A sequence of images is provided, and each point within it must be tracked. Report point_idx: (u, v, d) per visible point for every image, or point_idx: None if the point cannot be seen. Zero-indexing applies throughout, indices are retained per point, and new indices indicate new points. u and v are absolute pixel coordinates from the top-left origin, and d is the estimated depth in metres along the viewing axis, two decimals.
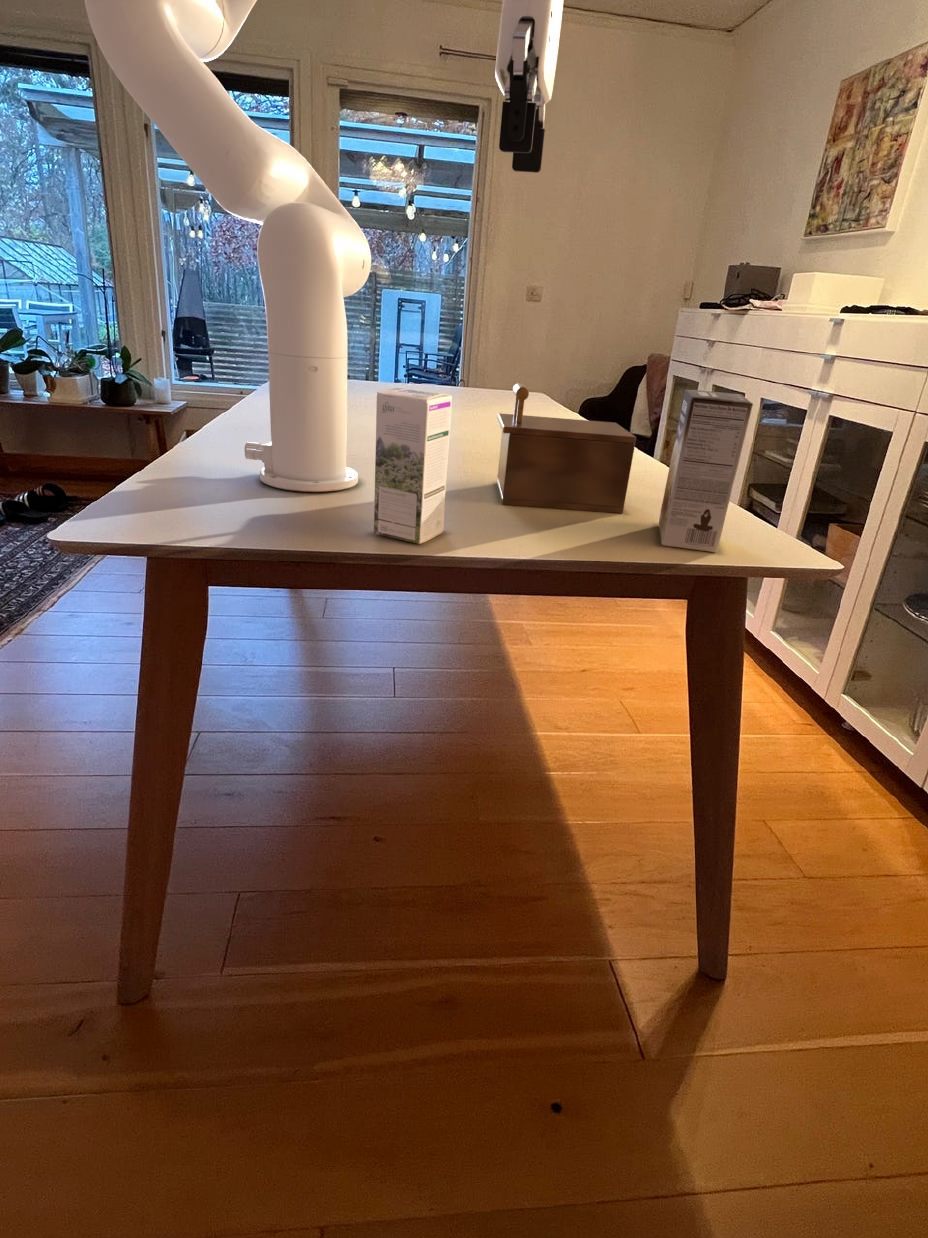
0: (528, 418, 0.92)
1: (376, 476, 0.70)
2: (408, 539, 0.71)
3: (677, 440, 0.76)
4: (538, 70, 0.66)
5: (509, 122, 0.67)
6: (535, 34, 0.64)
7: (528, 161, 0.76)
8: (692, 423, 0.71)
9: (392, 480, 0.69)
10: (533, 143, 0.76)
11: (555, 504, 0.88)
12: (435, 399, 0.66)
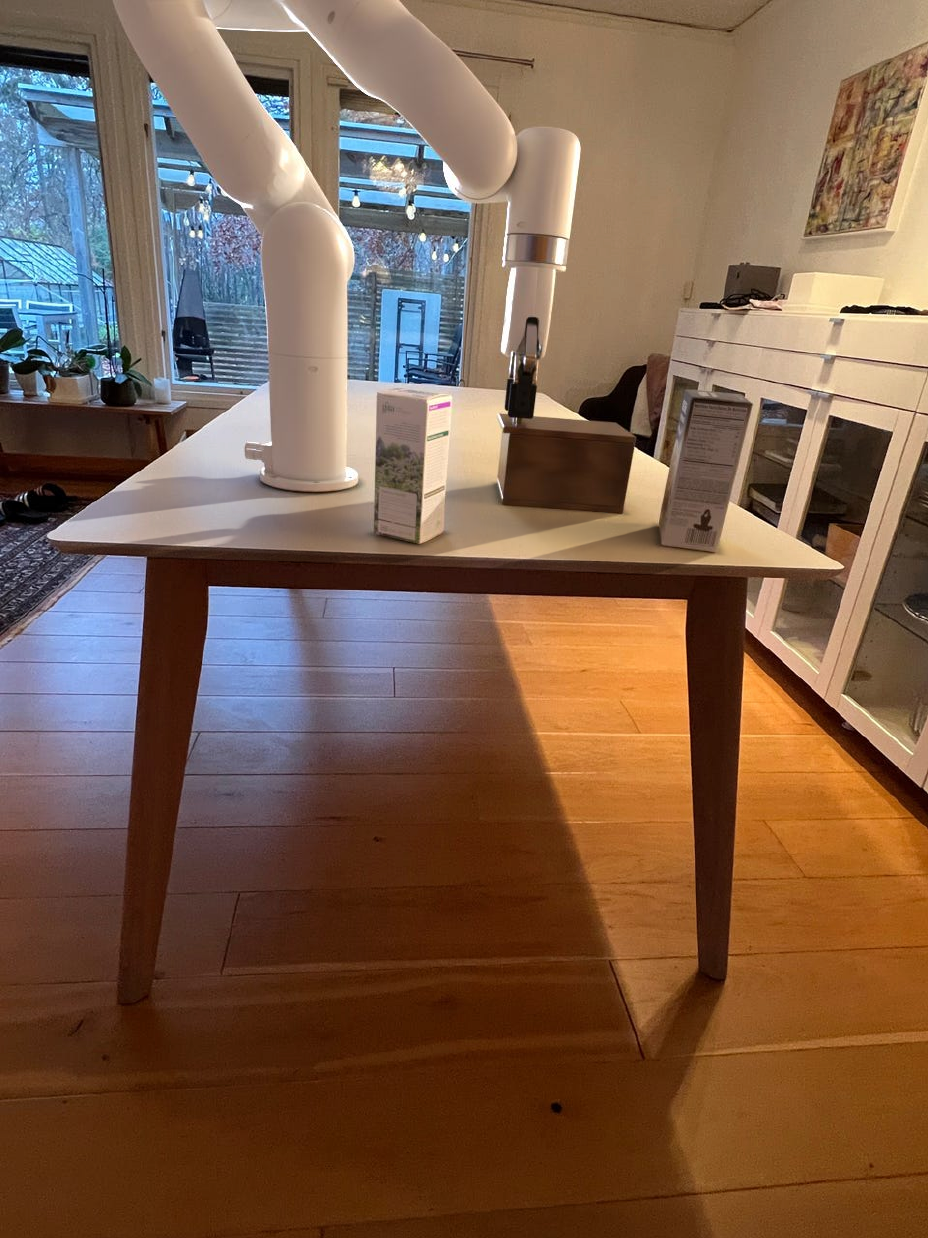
0: None
1: (376, 476, 0.70)
2: (408, 539, 0.71)
3: (677, 440, 0.76)
4: None
5: (517, 400, 0.85)
6: (539, 330, 0.80)
7: None
8: (692, 423, 0.71)
9: (392, 480, 0.69)
10: None
11: (555, 504, 0.88)
12: (435, 399, 0.66)
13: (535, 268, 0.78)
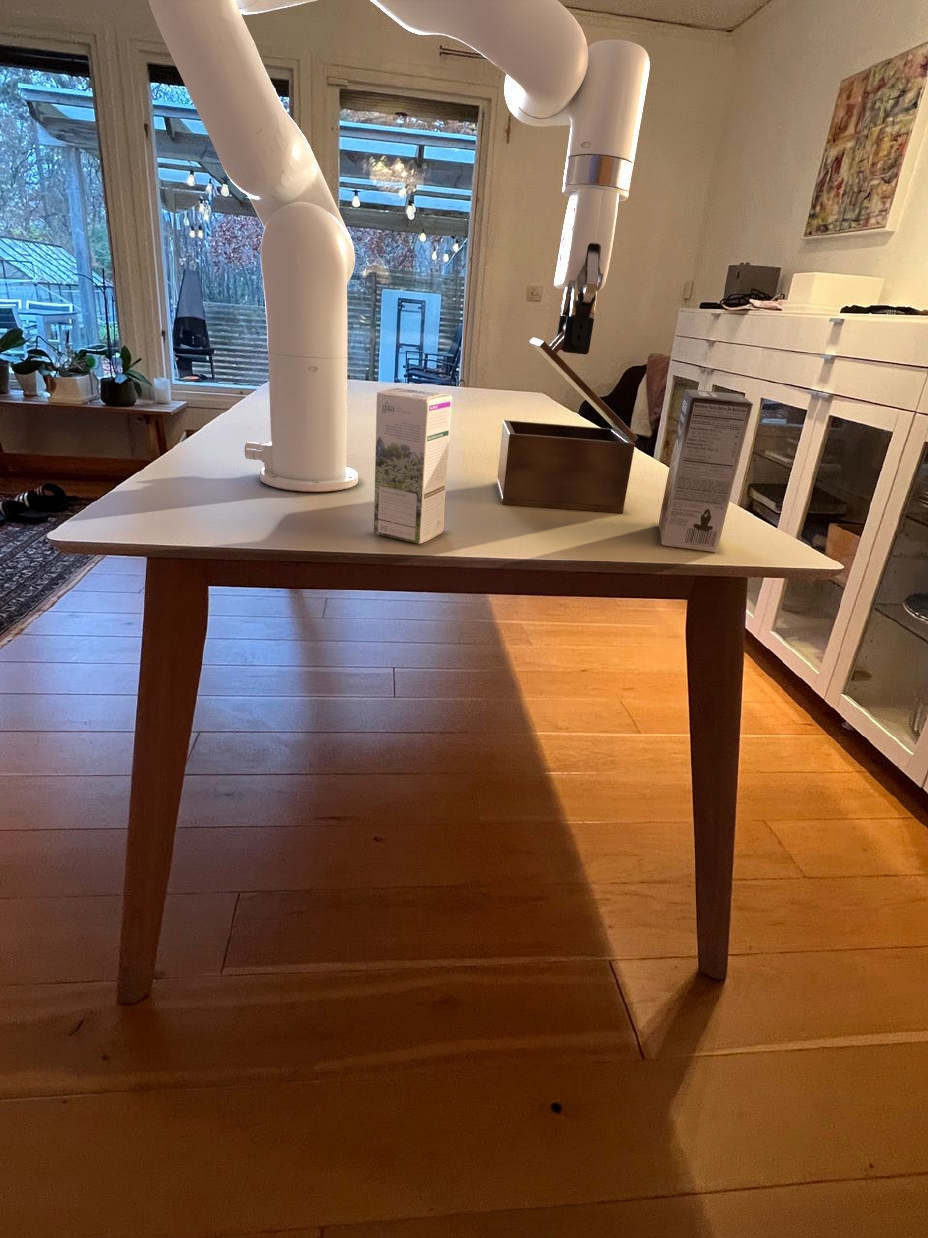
0: None
1: (376, 476, 0.70)
2: (408, 539, 0.71)
3: (677, 440, 0.76)
4: None
5: (573, 333, 0.82)
6: (601, 257, 0.77)
7: None
8: (692, 423, 0.71)
9: (392, 480, 0.69)
10: None
11: (555, 504, 0.88)
12: (435, 399, 0.66)
13: (599, 191, 0.75)
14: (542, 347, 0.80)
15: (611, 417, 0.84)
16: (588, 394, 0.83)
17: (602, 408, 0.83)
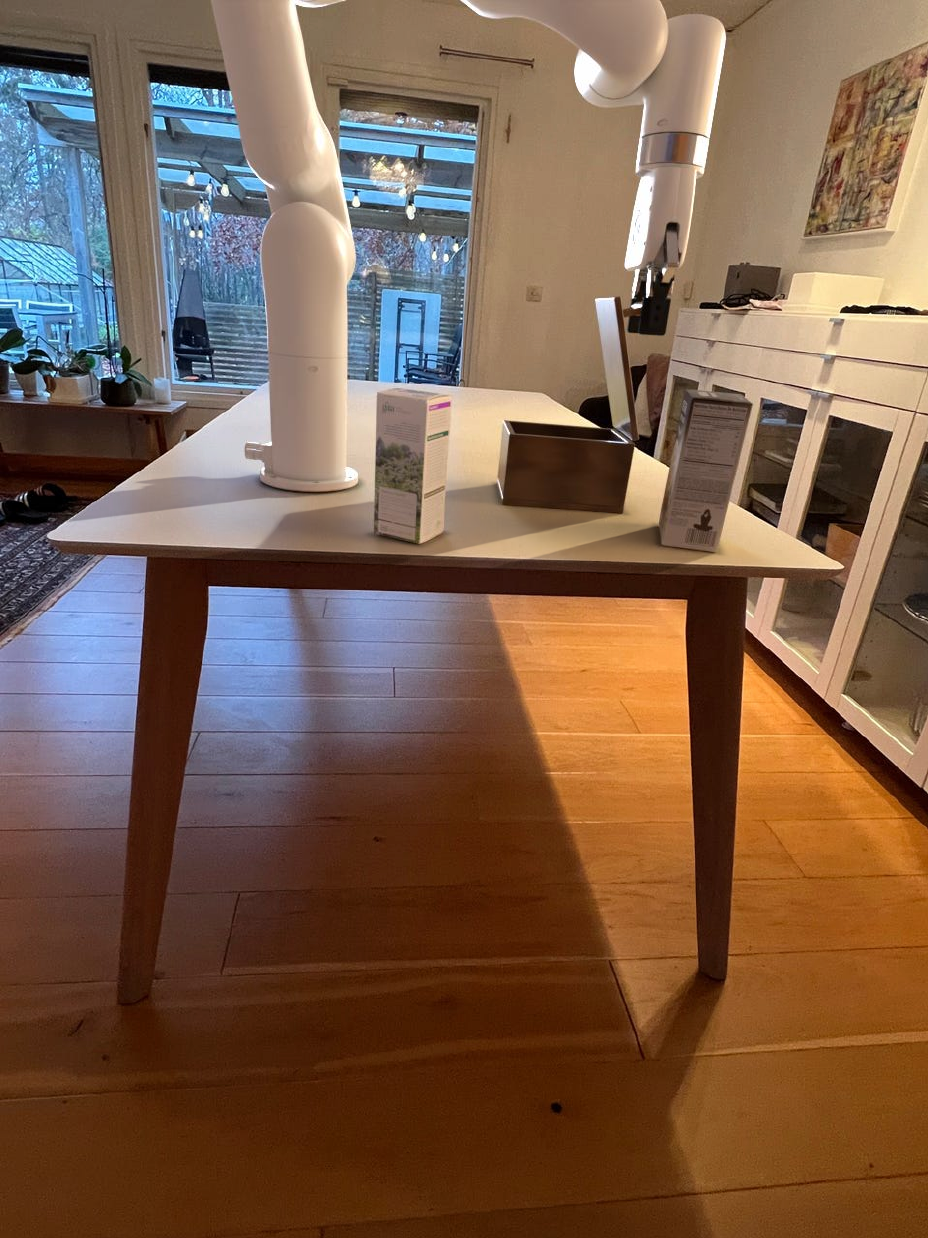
0: None
1: (376, 476, 0.70)
2: (408, 539, 0.71)
3: (677, 440, 0.76)
4: None
5: (651, 314, 0.81)
6: (679, 236, 0.77)
7: None
8: (692, 423, 0.71)
9: (392, 480, 0.69)
10: None
11: (555, 504, 0.88)
12: (435, 399, 0.66)
13: (677, 168, 0.75)
14: (615, 300, 0.79)
15: (629, 405, 0.83)
16: (625, 371, 0.82)
17: (628, 392, 0.83)
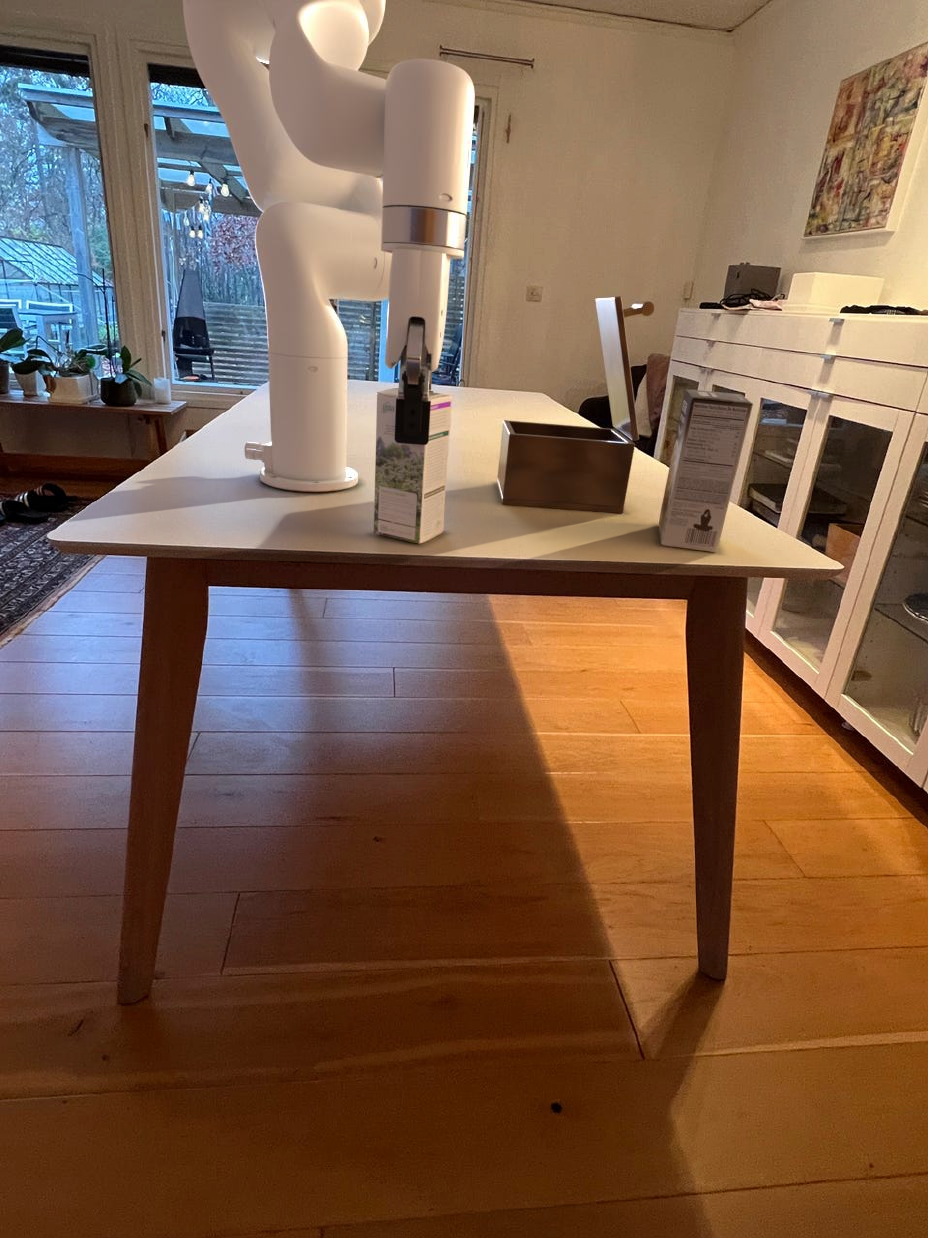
0: None
1: (376, 476, 0.70)
2: (408, 539, 0.71)
3: (677, 440, 0.76)
4: (431, 370, 0.63)
5: (405, 420, 0.64)
6: (426, 333, 0.61)
7: None
8: (692, 423, 0.71)
9: (392, 480, 0.69)
10: None
11: (555, 504, 0.88)
12: (435, 399, 0.66)
13: (417, 252, 0.59)
14: (616, 300, 0.79)
15: (630, 405, 0.83)
16: (625, 371, 0.82)
17: (628, 392, 0.83)
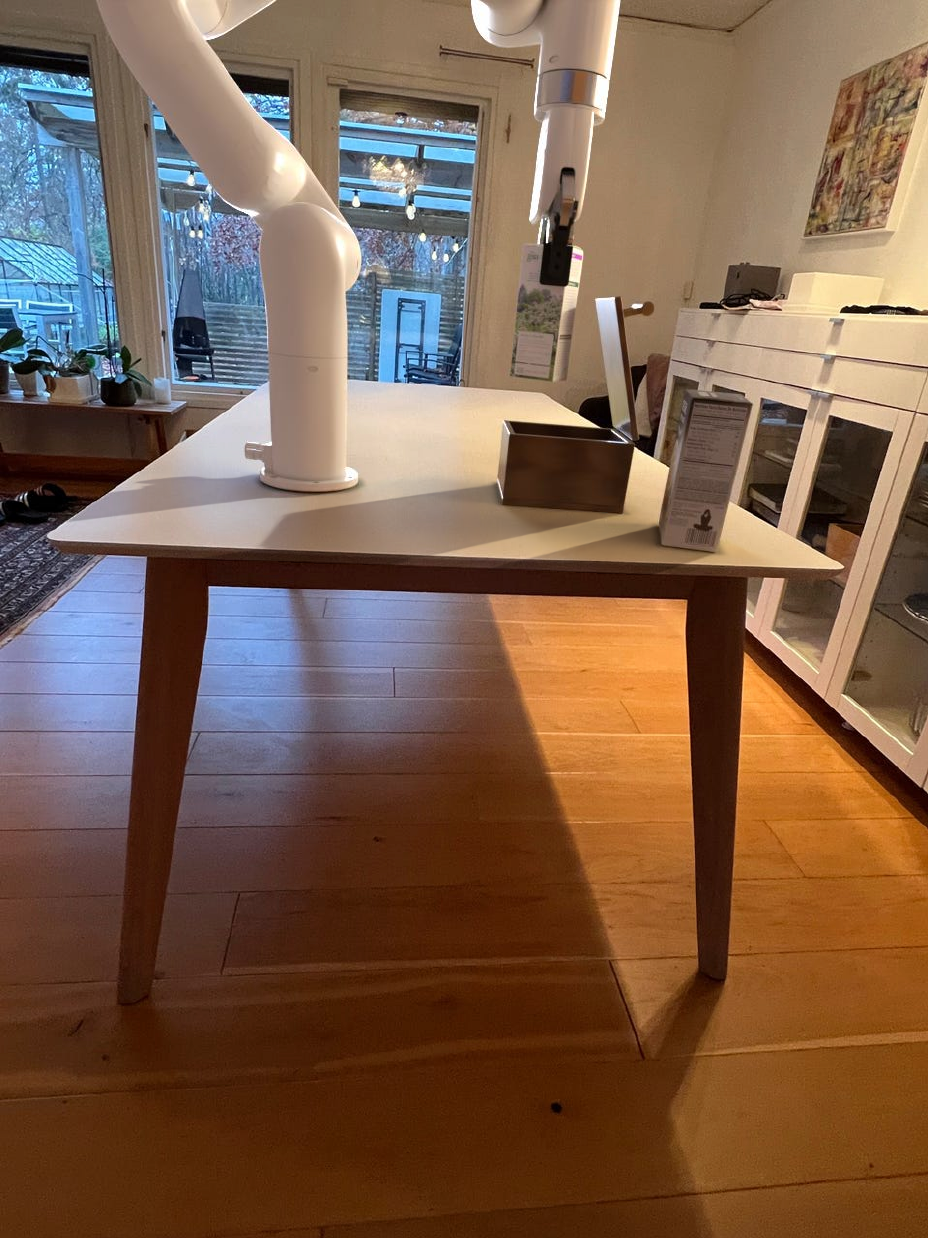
0: None
1: (516, 321, 0.81)
2: (542, 378, 0.82)
3: (677, 440, 0.76)
4: (576, 217, 0.74)
5: (551, 262, 0.75)
6: (575, 182, 0.72)
7: None
8: (692, 423, 0.71)
9: (531, 323, 0.80)
10: None
11: (555, 504, 0.88)
12: (574, 248, 0.77)
13: (572, 109, 0.70)
14: (616, 300, 0.79)
15: (630, 405, 0.83)
16: (625, 371, 0.82)
17: (628, 392, 0.83)
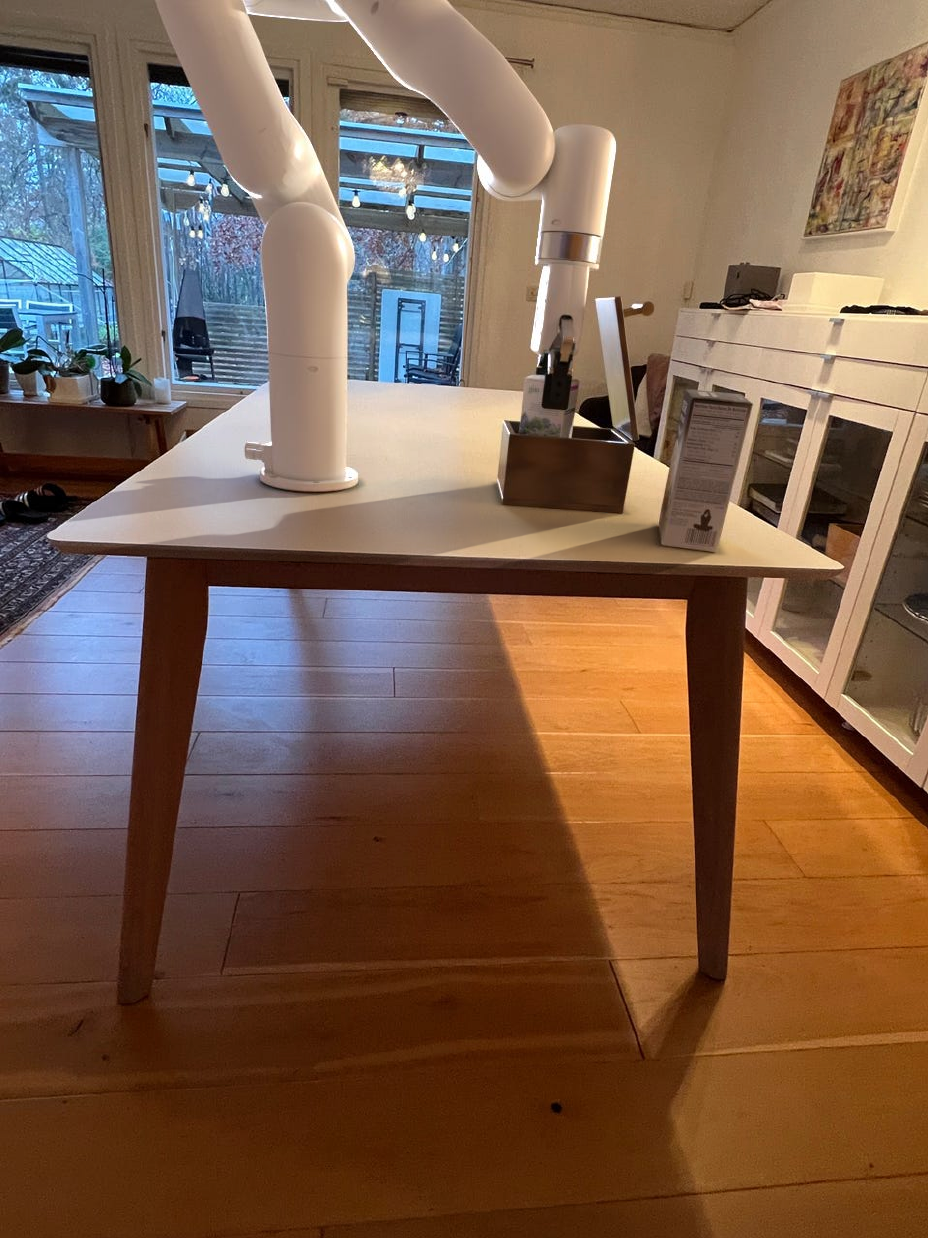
0: None
1: None
2: None
3: (677, 440, 0.76)
4: (574, 352, 0.82)
5: (552, 390, 0.82)
6: (573, 328, 0.80)
7: None
8: (692, 423, 0.71)
9: None
10: None
11: (555, 504, 0.88)
12: None
13: (569, 266, 0.78)
14: (616, 300, 0.79)
15: (630, 405, 0.83)
16: (625, 371, 0.82)
17: (628, 392, 0.83)
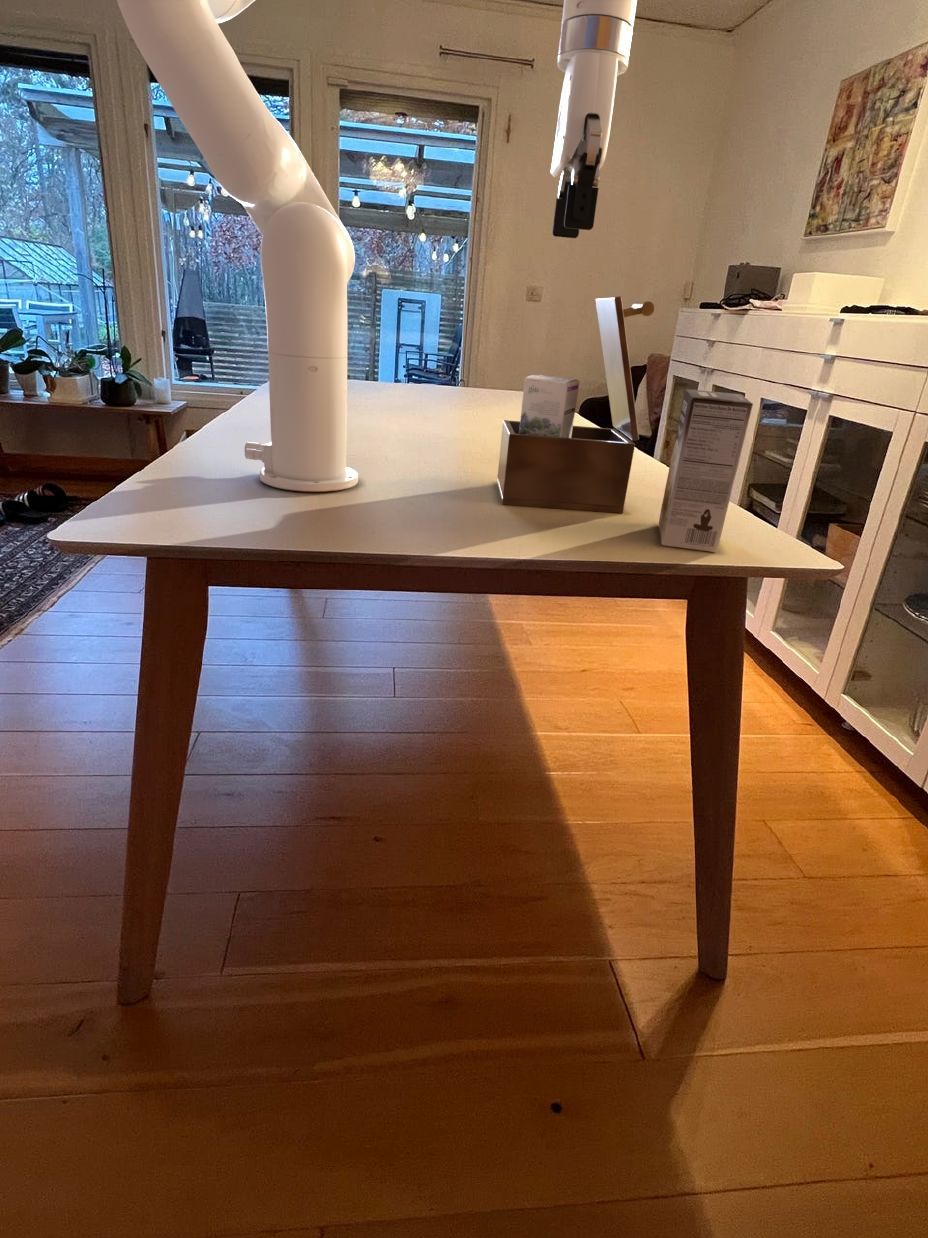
0: None
1: None
2: None
3: (677, 440, 0.76)
4: (600, 159, 0.74)
5: (576, 204, 0.75)
6: None
7: (568, 228, 0.85)
8: (692, 423, 0.71)
9: None
10: None
11: (555, 504, 0.88)
12: (570, 383, 0.86)
13: (597, 54, 0.70)
14: (616, 300, 0.79)
15: (630, 405, 0.83)
16: (625, 371, 0.82)
17: (628, 392, 0.83)
